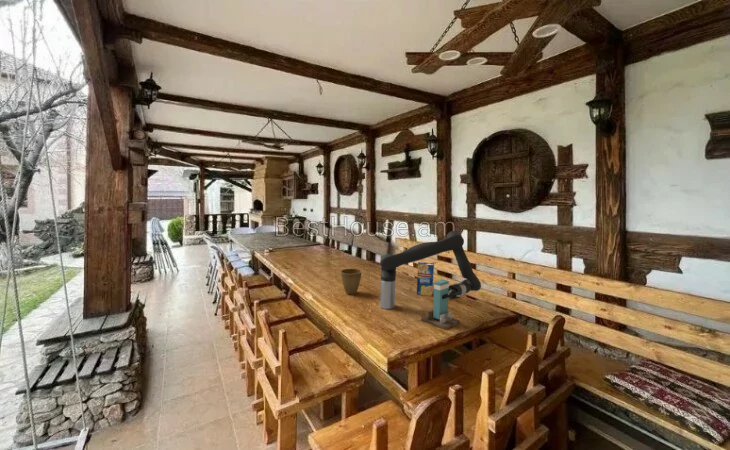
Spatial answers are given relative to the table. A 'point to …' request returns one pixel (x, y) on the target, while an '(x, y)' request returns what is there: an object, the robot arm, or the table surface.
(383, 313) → the table surface
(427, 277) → the blue food box
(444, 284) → the book
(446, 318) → the book rack
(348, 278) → the plant pot
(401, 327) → the table surface
